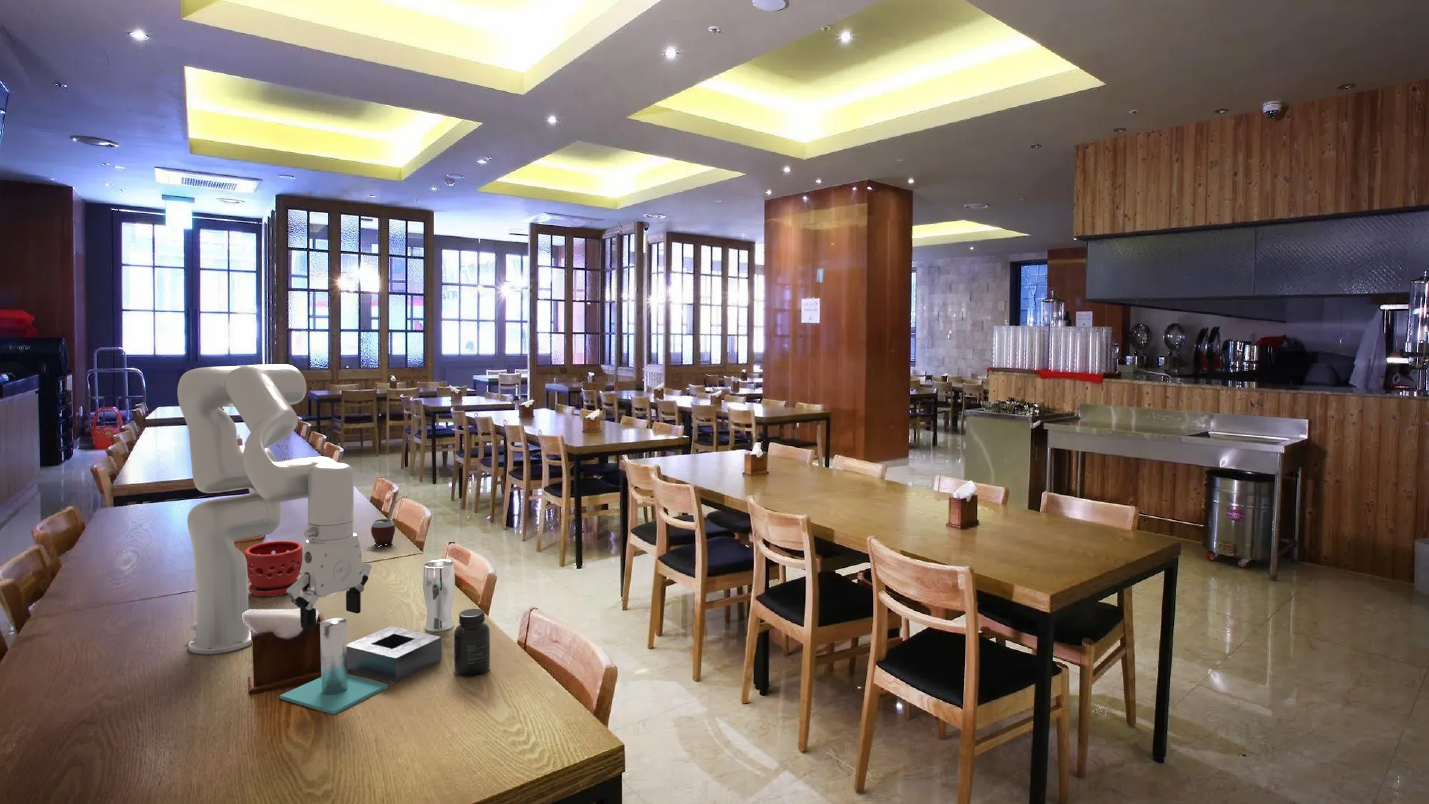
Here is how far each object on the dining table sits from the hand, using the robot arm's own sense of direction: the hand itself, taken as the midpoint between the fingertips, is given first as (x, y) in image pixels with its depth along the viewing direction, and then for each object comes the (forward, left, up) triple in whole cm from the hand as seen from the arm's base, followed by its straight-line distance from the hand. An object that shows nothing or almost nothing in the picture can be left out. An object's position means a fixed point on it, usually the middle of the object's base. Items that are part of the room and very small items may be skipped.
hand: (331, 620), depth 143 cm
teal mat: (+1, 0, -14) cm, 14 cm away
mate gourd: (-74, +81, -14) cm, 111 cm away
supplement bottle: (+17, +19, -14) cm, 29 cm away
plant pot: (-62, +34, -14) cm, 72 cm away
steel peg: (+1, 0, -13) cm, 13 cm away
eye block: (+1, +14, -14) cm, 20 cm away
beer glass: (-6, +34, -14) cm, 37 cm away
